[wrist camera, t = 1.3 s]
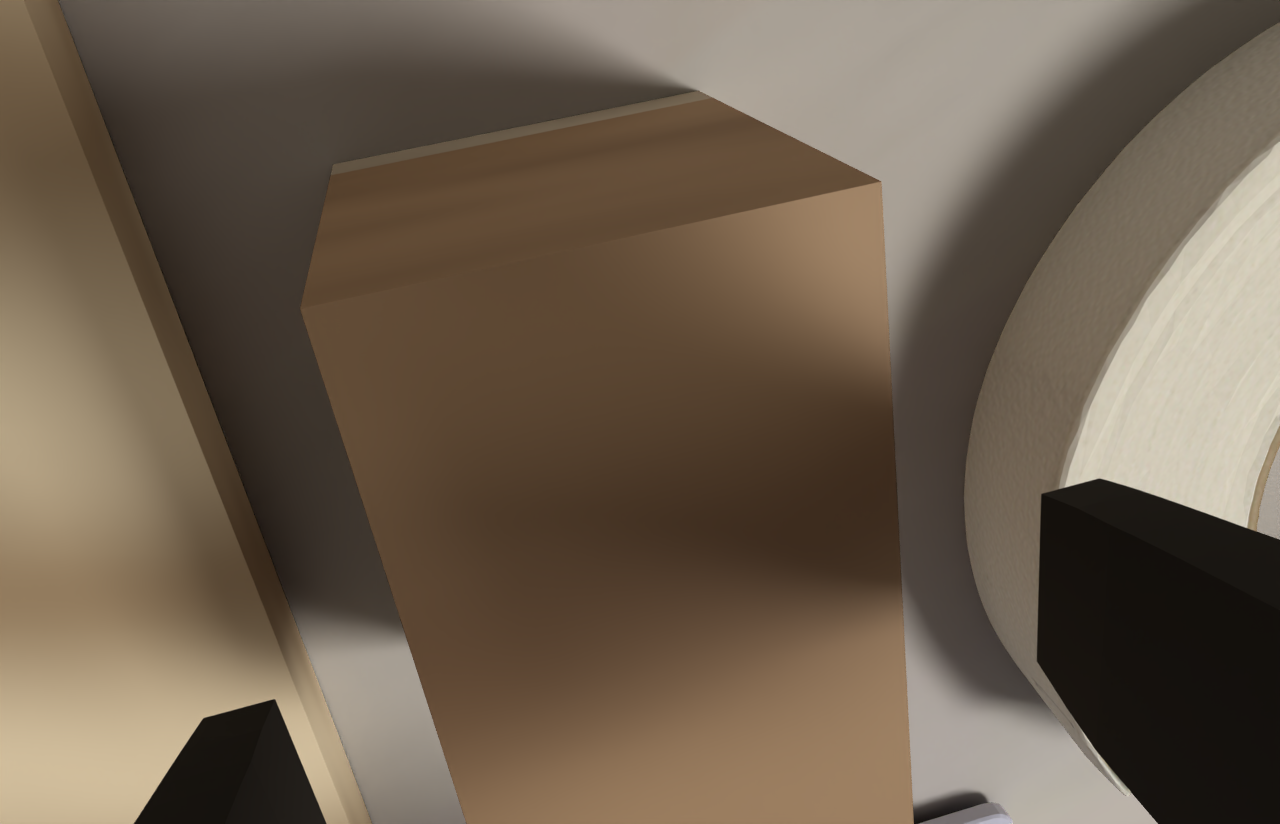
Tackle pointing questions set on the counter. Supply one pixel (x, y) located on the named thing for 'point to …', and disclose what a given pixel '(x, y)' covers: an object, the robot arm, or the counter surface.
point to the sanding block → (630, 462)
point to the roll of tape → (1140, 345)
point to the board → (116, 487)
